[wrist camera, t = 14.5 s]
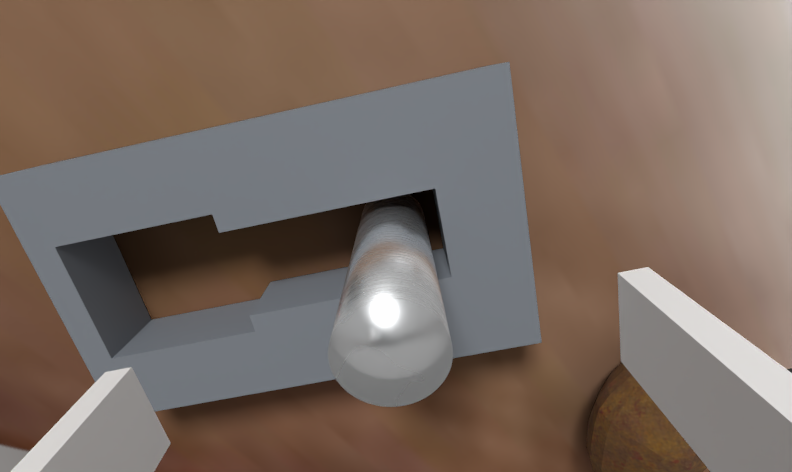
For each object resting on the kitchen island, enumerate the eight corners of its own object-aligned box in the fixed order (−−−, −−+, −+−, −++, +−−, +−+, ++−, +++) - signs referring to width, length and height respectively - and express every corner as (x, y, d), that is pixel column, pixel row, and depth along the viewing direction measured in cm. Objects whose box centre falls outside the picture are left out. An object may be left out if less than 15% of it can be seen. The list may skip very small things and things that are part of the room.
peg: (354, 197, 24) (312, 314, 12) (417, 183, 24) (439, 288, 12) (370, 255, 26) (346, 416, 13) (430, 242, 25) (462, 394, 13)
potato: (548, 441, 30) (591, 541, 24) (602, 295, 26) (670, 366, 20) (641, 454, 31) (708, 555, 24) (707, 312, 27) (808, 386, 20)
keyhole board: (152, 373, 28) (114, 418, 24) (51, 163, 24) (-14, 178, 20) (520, 305, 27) (541, 342, 23) (489, 65, 22) (509, 61, 18)
